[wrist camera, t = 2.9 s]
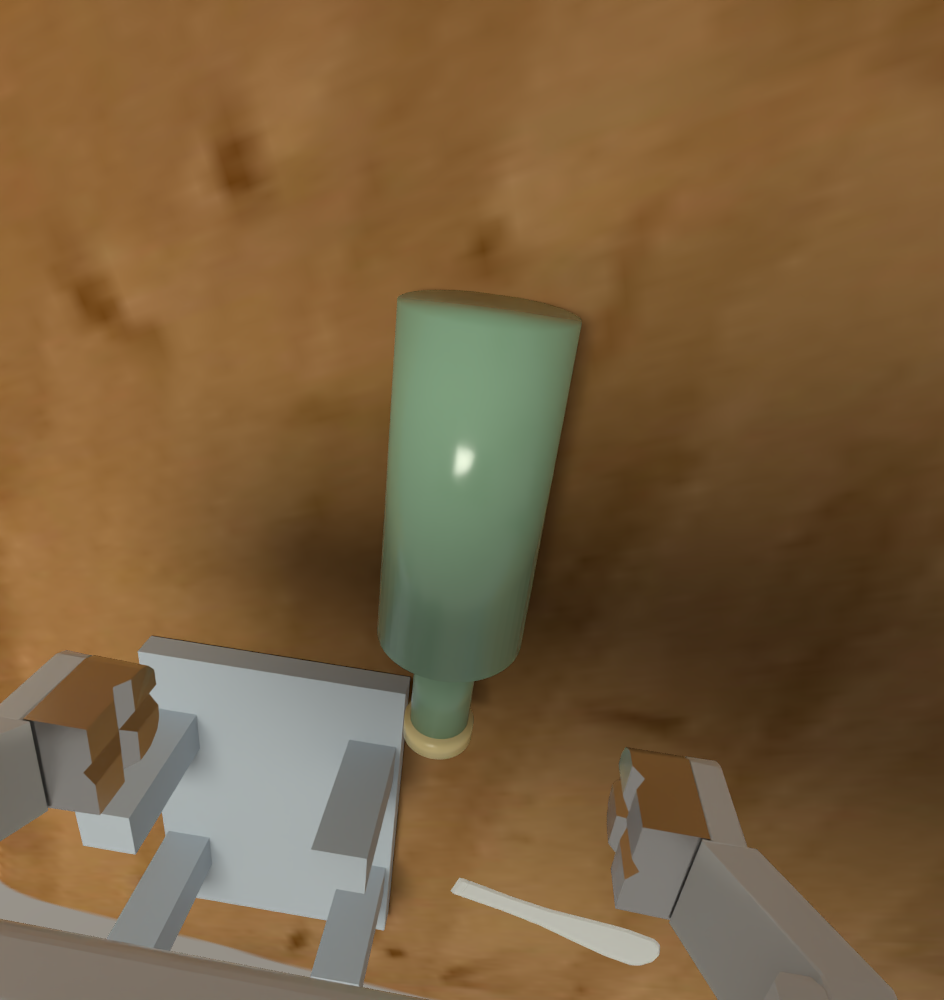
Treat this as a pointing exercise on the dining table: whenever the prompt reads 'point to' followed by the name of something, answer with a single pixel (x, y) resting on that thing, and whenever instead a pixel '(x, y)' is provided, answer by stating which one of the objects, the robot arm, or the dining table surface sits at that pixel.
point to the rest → (263, 796)
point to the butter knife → (569, 925)
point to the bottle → (466, 493)
